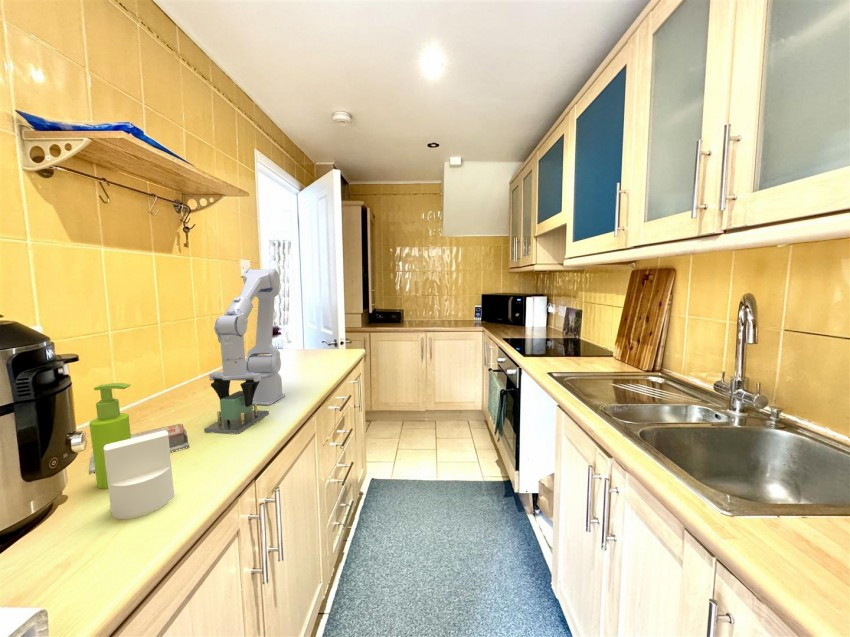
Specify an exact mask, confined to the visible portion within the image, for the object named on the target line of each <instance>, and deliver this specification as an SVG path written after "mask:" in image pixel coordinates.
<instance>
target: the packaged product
mask: <svg viewBox="0 0 850 637" xmlns="http://www.w3.org/2000/svg"><path fill="white" fill-rule="evenodd" d="M164 430H165V431H167V432H168V438H169V448H170V452H171V453H173V452H172V451H174V452H177V451H176V450H178V451H180V450H179V449H183V448H186V447H189V448H190V443H189V439H188V438H189V437H188V434H187V430H186V429H185V428H184V424H183V423H177V424H172V425H168V426H165V427H164V426H163V427H158V428H154V429H150V430H145V431H140V432H136V433H133V434H132V433H131V438H135V437H140V436H144V435H148V434H152V433H156V432H160V431H164ZM186 449H187V448H186ZM183 450H184V449H183ZM88 471H89V474H90V473H93V474H95V473H94V472H95V464H94V456H93V452H91V454H90V462H89V470H88Z"/></svg>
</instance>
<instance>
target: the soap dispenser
mask: <svg viewBox="0 0 850 637" xmlns="http://www.w3.org/2000/svg"><path fill="white" fill-rule="evenodd" d="M130 386H131V384H129V383H122V382H114V383H112V382H111V383H106V384H105V383H103V384H100V385H97V386H95V387H93V390H94V391H100V392H99V393H100V400H99V401H98V402H96V404H95V408H96V418H94V419H92V420H90V421H89V423H88V424H89V431H90V439H91V440H90V441H91V446H92V447H91V448H92V453H93V456H94V464H95V472H96V473H95V478H96V479H95V481H96V487H97V488H98V489H102V490H106V489H108V481H107V473H106V464H105V456H104V446H105V445H107V444H111V443H115V442H119V441H123V440H127V439H131V434H132V433H131V427H130V418H129V413H124V412H123V413H121V410H120V402H119V399H118V398H115V397H113V390H112V389H114V390H117V389H118V390H125V389H127V388H129V387H130ZM108 490H109V489H108Z"/></svg>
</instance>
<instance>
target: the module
mask: <svg viewBox="0 0 850 637" xmlns="http://www.w3.org/2000/svg"><path fill="white" fill-rule="evenodd" d="M219 405H220V411H221V420H236V419H238V418H239V417H240V413H241V412H244V415H245V414H246V413H248V412H250V411H251V410H254V404H253V403H252V405H251V406H249V407H246V406H245V400H244V393H243V390H238V391H236V392H234V393H232V394H229V396H227V397H225V398H223V399H221V400H220V399H219Z"/></svg>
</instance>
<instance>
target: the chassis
mask: <svg viewBox="0 0 850 637" xmlns="http://www.w3.org/2000/svg"><path fill="white" fill-rule="evenodd" d="M268 414H269V415H270V411H269V410H259V409H258V405H257V404H253V410H251V411H250V412H248V413H246V414H245V415H244V412H241V413H240V417H239V418H238V419H236V420H221V410H220V411H217V412H216V417H217V418H216V419H217V421H216V422H214V423H212V424H211V425H209V426H207V427H204V429H203V430H204V433H207V432H214V433H213V434H228V433H235V434H234V435H239V434H240V432H241V433H243V432H244V431H246V430H247V429H249V428H250V427H252V426H254V425H255V424H256V423H258V422H260V421H261V420H263V419H264V418H266V417H267V416H268ZM265 416H266V417H265ZM257 421H258V422H257ZM254 423H255V424H254ZM251 425H252V426H251ZM248 427H249V428H248ZM246 428H247V429H246ZM245 429H246V430H245ZM243 430H244V431H243ZM237 433H238V434H237Z"/></svg>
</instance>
